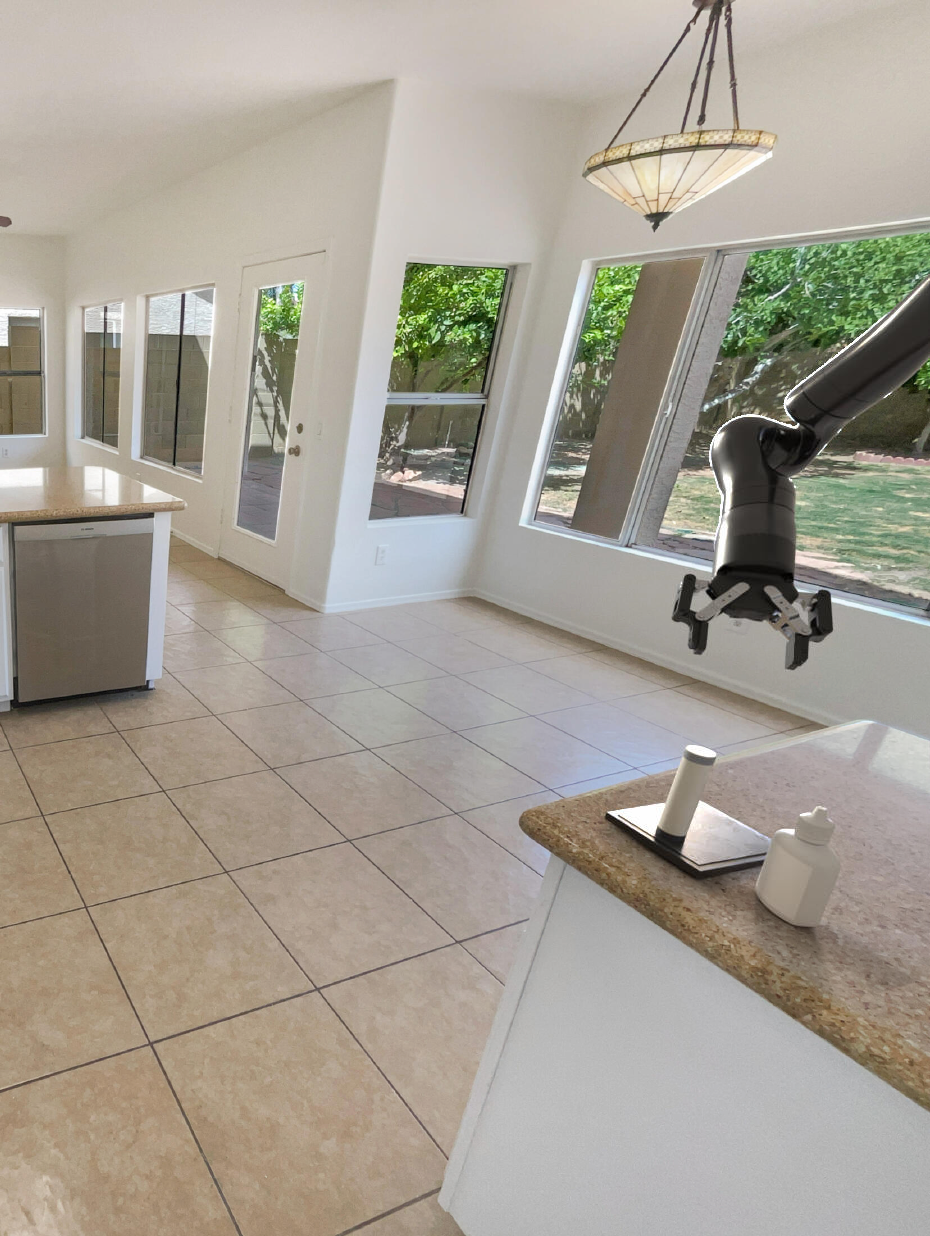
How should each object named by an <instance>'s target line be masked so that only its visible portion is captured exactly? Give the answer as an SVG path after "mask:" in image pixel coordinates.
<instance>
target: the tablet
mask: <svg viewBox="0 0 930 1236" xmlns="http://www.w3.org/2000/svg"><path fill="white" fill-rule="evenodd" d="M665 804H666V802H663V803H657V804H650V805H643V806H636V807H630V808H624V809H623V808H622V809H617V810H610V811H606V812H605V816H604V820H606V821H607V822H608V823H610V824H612V825H613V826H615V827H617V828H618V829H619V830H621V831H623V832H624V833H625V834H627V835H629V836H630V837H632V838H634V839H636V841H638V842H640V843H641V844H643V845H645V846H646V847H647V848H649V849H651V850H652V851H653V852H655V853H657V854H658V855H660V856H662V857H663V858H664V859H666V860H668V861H669V862H671V863H672V864H674V865H675V866H677V867H678V868H680V869H682V870H683V871H685V872H686V873H688V874H689V875H690V876H692V877H694V878H695V879H697V880H698V879H704V878H709V877H710V878H711V877H715V876H720V875H726V874H730V873H735V872H742V871H745V870H746V871H747V870H750V869H755V868H760V867H762V866H763V863H764V860H765V858H766V855H767V852H768V849H769V846H770V844H771V841H772V839H773V838H770V837H769V836H767V835H765V834H763V833H761V832H760V831H757V830H755V829H754V828H752V827H750V826H748V825H746V824H744V823H743V822H741V821H739V820H737V819H735V818H733V816H732V817H731V816H730V815H728V814H726V813H724V812H722V811H720V810H719V809H717V808H715V807H713V806H711V805H710V804H707V803H705V802H704V801H703V800H700V801H699V803H698V806H697V809H696V811H695V814H694V816H693V819H692V822H691V824H690V827H689V830H688V832H687V836H686V838H685V840H684V841H683V842H675V841H671V840H668V839H666V838H664V837H662V836H660V835H659V834H658V833H657V832H656V828H657V825H658V823H659V820H660V817H661V815H662V812H663V809H664V806H665Z"/></svg>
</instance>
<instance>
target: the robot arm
mask: <svg viewBox="0 0 930 1236" xmlns="http://www.w3.org/2000/svg"><path fill="white" fill-rule="evenodd" d="M929 359H930V273H929V274H927V275H926V277H924V278H923V279H922V280H921V281H920V282H919V283H918V284H917V285H916V286H915V287H914V288H912V289H911V291H910V292H909V293H908V294H906V296H904V297H903V298H902V300H900V301H899V302H898V303H897V304H896V305H894V307H893V308H891V309H890V310H889V311H888V312H887V313H886V314H885V315H884V316H882V317H881V318H880V319H879V320H878V321H877V322H876V323H874V324H873V325H871V327H870V328H869V329H868V330H866V331H865V332H864V333H863V334H861V335H860V336H859V337H857V338H856V339H855V340H854V341H853V342H852V343H850V344H849V345H848V346H847V347H845V348H844V349H842V350H841V351H840V352H838V354H836V355H835V356H834V357H833V358H831V359H829V360H828V361H827V362H826V363H824V365H822V366H821V367H819V368H818V369H816V371H814V372H813V373H812V374H810V375H809V376H808V377H806V379H804V380H802V381H801V382H800V383H799V384H798V385H796V386H795V387H794V388H793V389H792V390H790V392H789V393H788V394H787V396H786V397H785V399H784V403H783V404H784V405H783V406H784V409H785V412H786V414H787V416H789V417H790V418H791V420H793V421H794V422H796V423H797V425H795V426H792V425H791V424H786V423H783V422H779V421H777V420H775V419H771V418H767V417H765V416H762V415H761V416H760V415H755V414H746V415H745V414H744V415H741V416H737V417H735V418H732V419H731V420H729V421H728V422H726V423H725V424H723V425H722V427H720V428H719V429H718V431H717V433H716V434H715V436H714V437H713V439H712V442H711V444H710V450H709V462H710V467H711V469H712V472H713V475H714V478H715V481H716V484H717V488H718V490H719V493H720V495H721V504H720V516H719V523H718V526H717V528H716V532H715V539H714V541H713V549H714V550H713V551H714V552H713V559H712V569H711V578H710V580H704V579H698V578H697V576H696V575H695V574H693V573H686V574H685V575H684V576H683V578H682V579H681V580H680V582H679V584H678V585H677V590H676V594H675V595H676V596H675V598H674V599H675V600H674V603H673V609H672V613H671V614H672V615H671V620H672V621H673V622H675V623H683V624H685V625H686V626H688V629H689V630H688V637H687V638H688V639H687V647H688V649H689V650H692V654H693V655H697V656H702V655H703V653H704V652H705V651H706V650H707V645H708V636H709V634H708V633H709V625H710V622H713V621H714V620H715V619H717V618H718V617H720V616H721V615H723V614H725V615H727V616H728V617H729V618H730V619H735V620H736V619H737V620H738V619H740V620H741V619H747V620H750V621H753V622H758V623H763V622H764V621H766V622H767V623H768V624H769V625H770V626H771V627H772V629H774V630H775V631H776V632H777V631H778V632H780V634H782V635H783V636H784V638H786V639H787V640H788V641H786V643H785V657H784V669H785V670H789V671H795V670H796V669H797V668H798V667H799V668H800V667H802V665H804V664H805V663H806V662H807V660H808V659H809V649H810V648H809V647H810V642H812V643H816V644H817V643H819V644H820V643H821V642H823V641H824V640H825V638H827V636H829V635H831V633H833V632H834V621H833V619H834V618H833V608H832V607H833V605H832V593H831V592H830V591H829V590H827V589H819V590H817V591H816V592H805V591H799V590H798V589H797V588H796V586H795V583H794V582H795V572H796V569H795V568H796V551H797V535H798V534H797V532H798V530H797V525H796V503H797V502H796V501H797V490H796V486H795V484H794V482H793V480H792V479H790V478H792V477H794V476H797V475H798V474H800V473H801V472H802V471H804V470H805V469H806V468H808V467H809V466H810V464H812V463H813V461H815V459H816V458H817V456H818V455H819V454H820V453H821V452H822V450H824V449H825V447H826V446H827V445H828V444H829V443H830V442H831V441H832V440H833V439H835V437H836V436H837V434H839V433H840V431H842V429H843V428H844V427H845V426H846V425H847V424H848V423H849V422H851V421H853V420H854V419H855V418H857V417H858V416H860V415H861V414H863V413H864V412H865V411H867V410H869V409H870V408H871V407H873V406H874V405H876V404H877V403H878V402H879V403H880V401H882V400H883V399H884V398H886V397H887V396H888V395H890V394H892V393H893V392H894V391H896V390H897V389H898V388H900V387H901V386H902V385H903V384H905V383H906V382H907V381H908V380H909V379H910V378H912V377H913V376H914V375H915V374H916V373H917V372H918V371H919V370H920V369H921V368H922V367H923V366H924V365H925V364H926V363H927V362H928V360H929ZM703 591H705V594H706V595H707V596H708V598H709V599H710V600H711V602H710V603H709V604H708V605H706V606H704V607H703V608H701V610H699V611H695V610H692V609H691V606H692V602H693V597H697V596H698V595H699V593H700V592H703ZM794 603H798V604H800V606H801V608H802V611H803V612H806V613H807V623H808V624H807V623H806V622H805V621H804V620H803V619H802V618H801V616H800V615H801V614H800V612H799V611H798V610H797V609H796V608H795V607H794V606H793V604H794ZM779 614H780V615H781V616H780V615H779Z"/></svg>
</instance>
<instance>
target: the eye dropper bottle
mask: <svg viewBox="0 0 930 1236" xmlns="http://www.w3.org/2000/svg"><path fill="white" fill-rule="evenodd" d="M835 828H836V824H835V823H834V821H833V820H831V819H829V818H828V808H827V807H825V806H823V805H816V806H815V808H814V809H813V810H812V812H805V813H800V814H799V815H798V819H797V822H796V825H795V827H794V829H791V828H782V829H778V830H777V831H775V832H774V834H773V837H772V838H771V839H772V841H771V844H770V846H769V849H768V852H767V855H766V858H765V860H764V863H763V866H761V869H760V872H759V875H758V878H757V880H756V884H755V886H754V890H755V894H756V896H757V898H758V900H759V901H760V902H761V903H762V904H763V905H764V906H765V907H766V908H767V909H768V910H769V911H770V912H772V913H773V914H774V915H775V916H777V917H779V918H780V919H782V920H783V921H785V922H786V923H788V924H790V925H792V926H796V927H807V928H817V927H819V925H820V923H821V921H822V919H823V916H824V913H825V910H826V907H827V906H828V903H829V900H830V898H831V896H832V893H833V890H834V887H835V885H836V882H837V880H838V877H839V874H840V871H841V868H842V867H841V862H840V859H839V857H838V854H836V852H835V850H834V849H833V848H832V847H831V846H830V841H831V839H832V836H833V833H834V831H835Z"/></svg>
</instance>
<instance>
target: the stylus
mask: <svg viewBox="0 0 930 1236" xmlns="http://www.w3.org/2000/svg"><path fill="white" fill-rule="evenodd" d="M716 759H717V753H716V752H715V751H713V750H711V749H710V748H706V747H704V746H700V745H693V744H692V745H691V744H689V745H687V746H685V748H684V750H683V753H682V757H681V758H680V762H679V765H678V768H677V770H676V773H675V776H674V778H673V781H672V784H671V787H670V790H669V793H668V795H667V798H666V801H665V803H666V804H665V806H664V809H663V812H662V815H661V817H660V820H659V823H658V825H657V828H656V832H657V833H658V834H659V835H660V836H662V837H664V838H666V839H668V840H671V841H675V842H683V841H684V840H685V838H686V836H687V832H688V830H689V827H690V824H691V822H692V819H693V816H694V814H695V811H696V809H697V806H698V803H699V801H701V798H702V795H703V792H704V790H705V788H706V785H707V782H708V779H709V777H710V774H711V773H712V769H713V766H714V764H715V762H716Z"/></svg>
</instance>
